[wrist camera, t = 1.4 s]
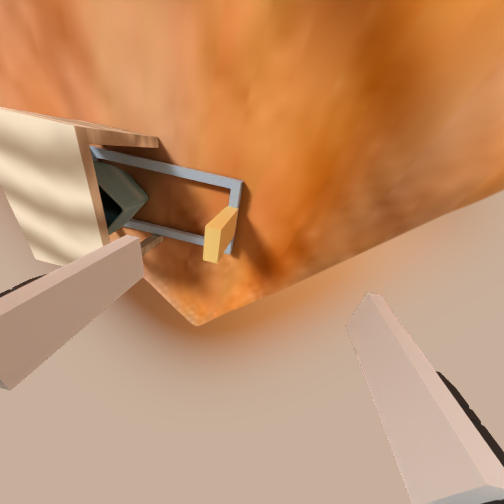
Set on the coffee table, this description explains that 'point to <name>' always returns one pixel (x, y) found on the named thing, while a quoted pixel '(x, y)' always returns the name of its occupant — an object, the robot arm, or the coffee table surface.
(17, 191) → the shelf
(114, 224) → the flower pot
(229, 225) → the frame with square tube
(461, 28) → the coffee table surface
